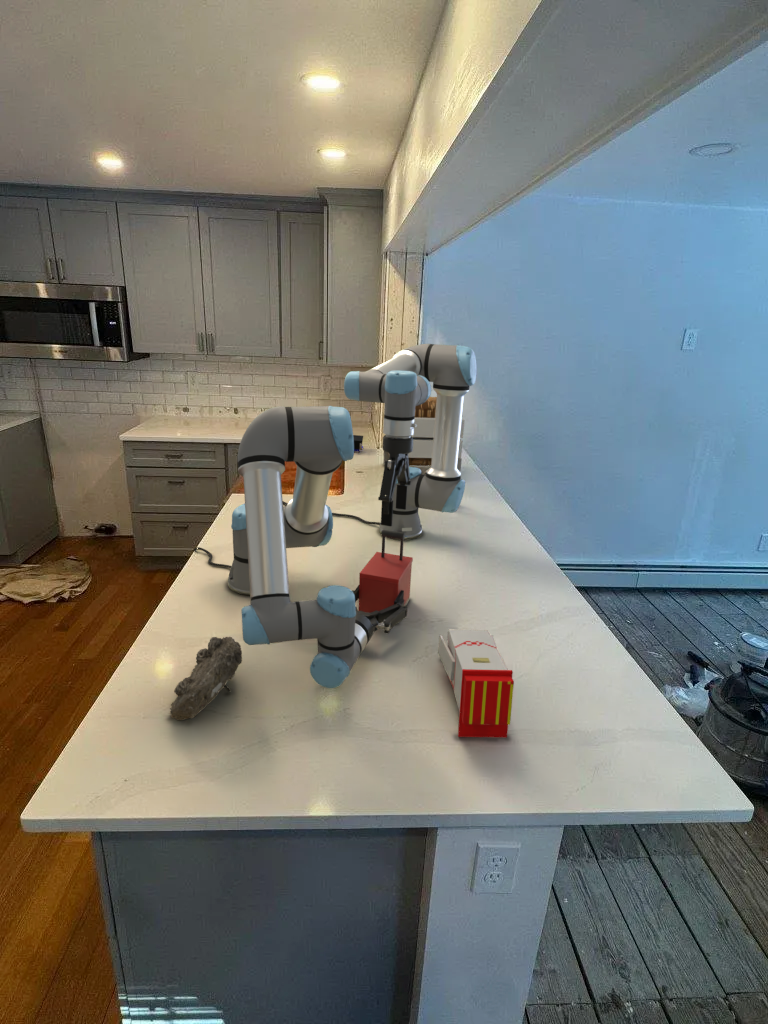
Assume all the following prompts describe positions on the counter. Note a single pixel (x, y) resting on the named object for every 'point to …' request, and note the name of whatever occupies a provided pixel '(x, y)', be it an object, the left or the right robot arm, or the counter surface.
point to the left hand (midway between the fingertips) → (381, 591)
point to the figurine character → (358, 442)
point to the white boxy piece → (426, 435)
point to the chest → (382, 592)
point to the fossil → (207, 677)
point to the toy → (478, 682)
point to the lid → (387, 562)
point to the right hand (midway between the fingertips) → (393, 516)
